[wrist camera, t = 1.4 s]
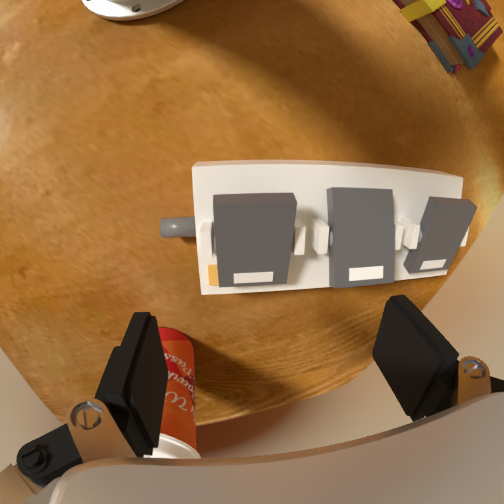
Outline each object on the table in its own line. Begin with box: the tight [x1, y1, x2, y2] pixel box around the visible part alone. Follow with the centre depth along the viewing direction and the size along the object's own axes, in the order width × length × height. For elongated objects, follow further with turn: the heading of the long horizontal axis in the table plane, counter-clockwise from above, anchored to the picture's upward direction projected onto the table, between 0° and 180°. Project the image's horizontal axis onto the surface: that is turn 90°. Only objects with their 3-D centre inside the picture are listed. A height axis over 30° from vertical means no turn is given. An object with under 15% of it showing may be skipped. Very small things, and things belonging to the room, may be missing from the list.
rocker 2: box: [403, 196, 477, 274], centre depth 21 cm, size 7×5×2 cm
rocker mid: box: [326, 187, 395, 288], centre depth 21 cm, size 7×5×2 cm
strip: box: [160, 160, 469, 295], centre depth 23 cm, size 10×27×6 cm, turn 91°
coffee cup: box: [144, 327, 201, 459], centre depth 23 cm, size 8×8×15 cm
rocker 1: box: [213, 192, 297, 288], centre depth 20 cm, size 7×5×2 cm
